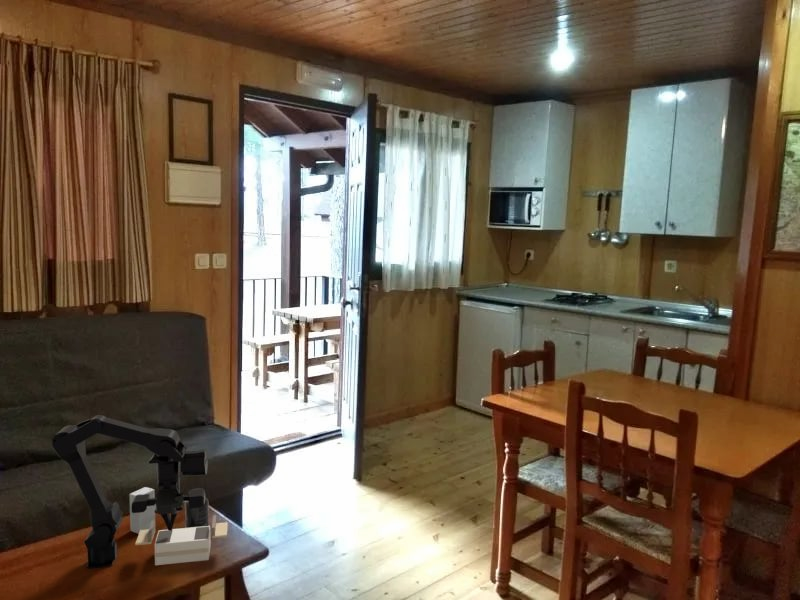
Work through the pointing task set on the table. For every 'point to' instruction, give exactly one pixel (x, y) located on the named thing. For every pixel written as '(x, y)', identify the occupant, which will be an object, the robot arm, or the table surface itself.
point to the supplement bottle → (197, 514)
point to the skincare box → (144, 518)
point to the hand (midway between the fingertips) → (170, 529)
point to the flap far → (219, 528)
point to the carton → (182, 545)
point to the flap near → (146, 535)
